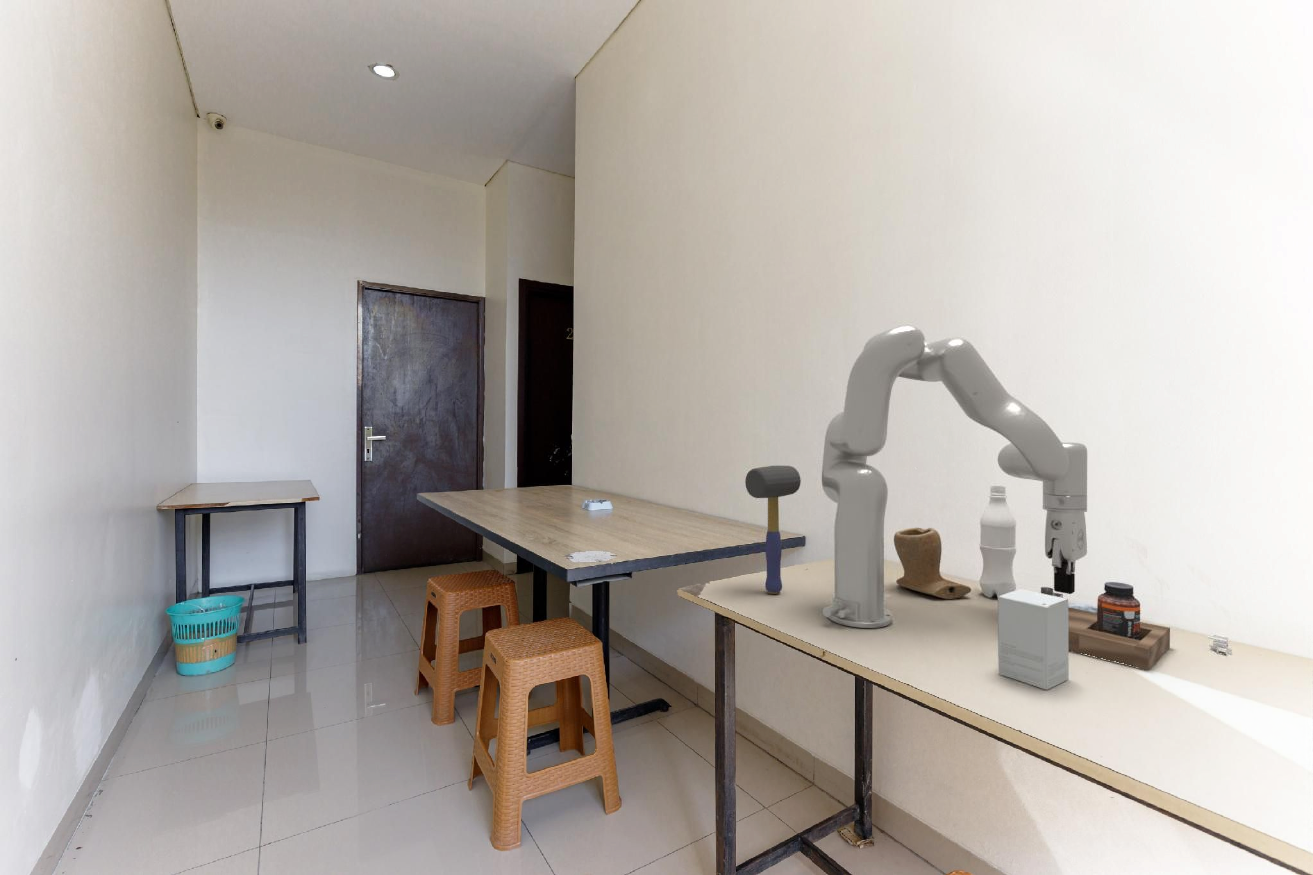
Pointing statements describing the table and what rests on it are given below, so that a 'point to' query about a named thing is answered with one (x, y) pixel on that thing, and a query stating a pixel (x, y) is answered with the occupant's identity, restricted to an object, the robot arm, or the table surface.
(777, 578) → the rubber mallet
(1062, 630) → the supplement box
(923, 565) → the tan boot-shaped piece
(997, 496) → the water bottle
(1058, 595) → the locking bolt
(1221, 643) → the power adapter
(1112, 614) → the supplement bottle
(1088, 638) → the socket block
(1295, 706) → the table surface
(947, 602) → the table surface
